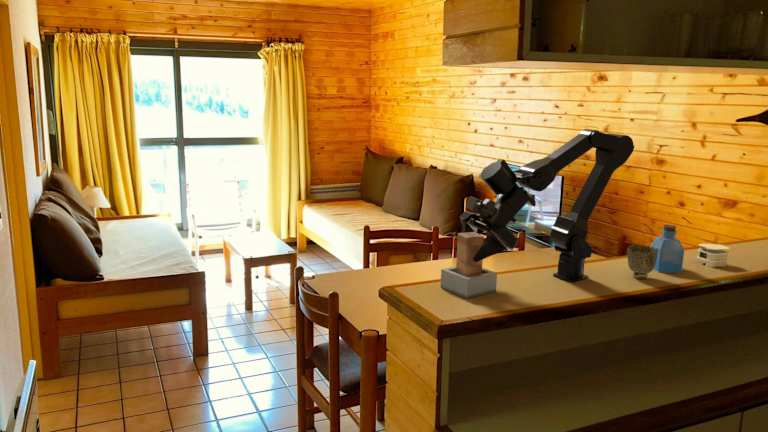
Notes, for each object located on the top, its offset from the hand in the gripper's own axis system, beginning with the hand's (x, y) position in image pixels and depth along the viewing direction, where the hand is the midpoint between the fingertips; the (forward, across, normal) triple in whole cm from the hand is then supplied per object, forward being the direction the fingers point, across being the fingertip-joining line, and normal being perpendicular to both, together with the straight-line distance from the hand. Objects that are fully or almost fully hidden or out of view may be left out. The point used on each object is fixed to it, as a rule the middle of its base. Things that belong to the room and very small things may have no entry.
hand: (464, 255), depth 149 cm
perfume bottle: (-36, +2, +49) cm, 61 cm away
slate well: (+5, 0, +7) cm, 9 cm away
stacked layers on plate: (-48, +3, +61) cm, 77 cm away
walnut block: (+5, 0, +7) cm, 8 cm away
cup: (-28, +6, +40) cm, 49 cm away
